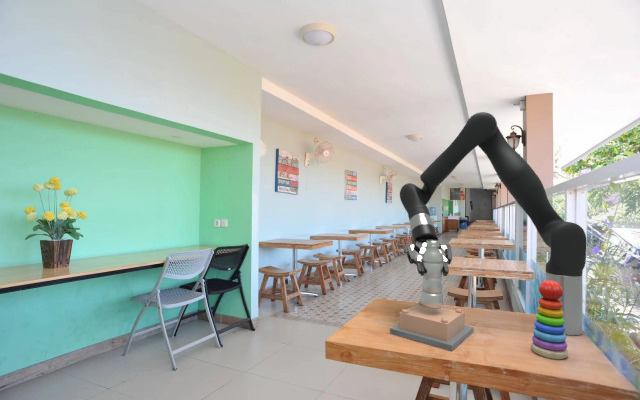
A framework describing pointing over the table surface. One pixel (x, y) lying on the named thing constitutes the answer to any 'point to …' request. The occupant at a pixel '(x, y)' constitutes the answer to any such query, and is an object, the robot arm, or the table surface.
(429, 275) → the plastic bottle
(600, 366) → the table surface
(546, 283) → the stacking toy
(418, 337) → the brick tower base
